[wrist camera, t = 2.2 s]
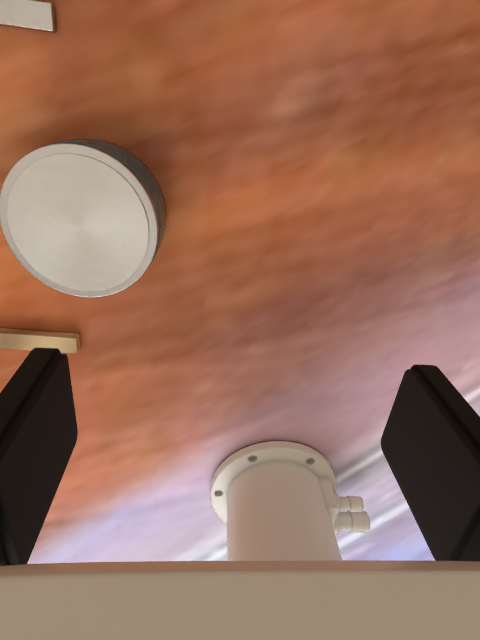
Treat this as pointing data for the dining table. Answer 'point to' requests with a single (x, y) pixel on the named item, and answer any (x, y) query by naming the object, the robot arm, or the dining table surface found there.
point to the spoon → (39, 340)
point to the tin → (83, 216)
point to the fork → (28, 14)
